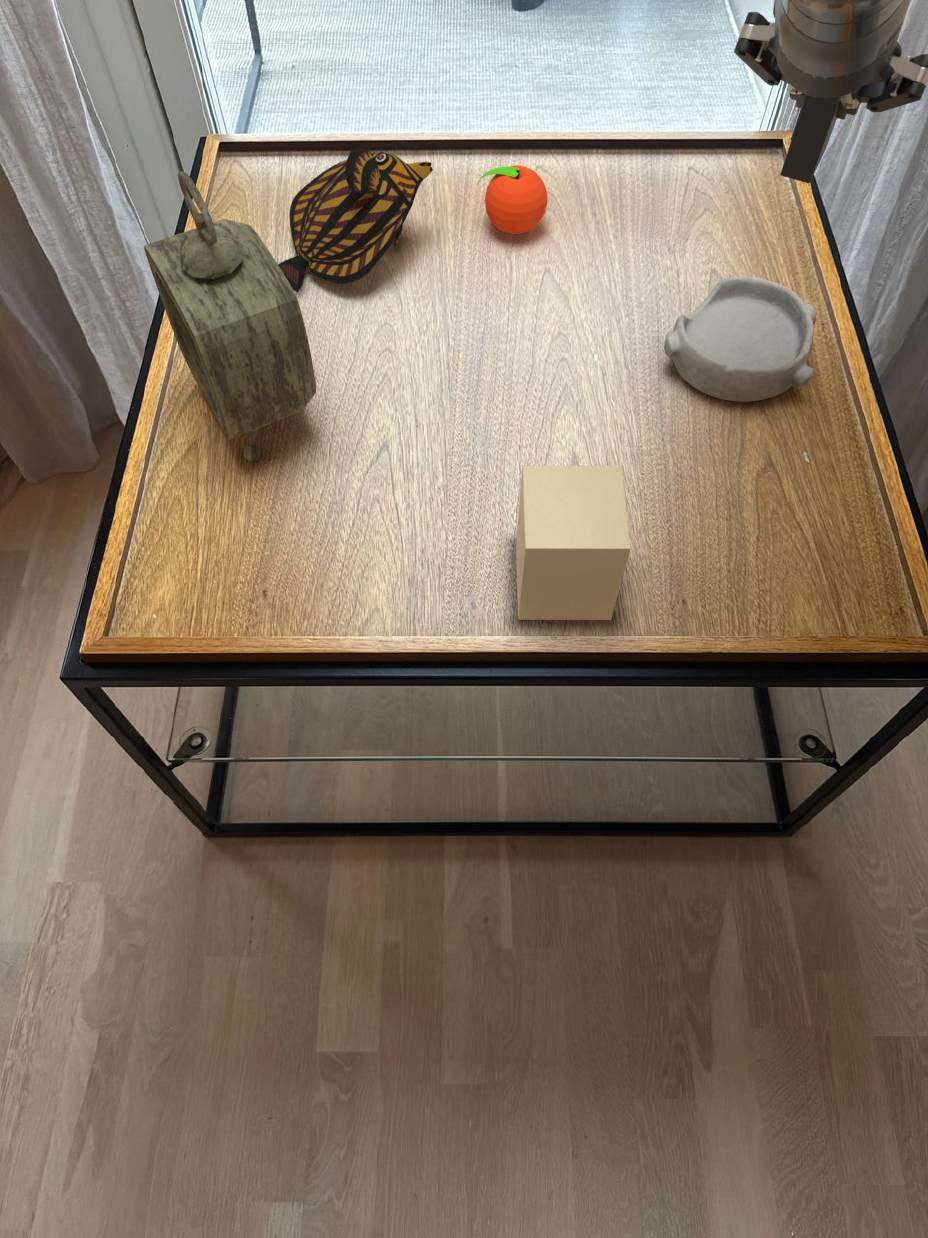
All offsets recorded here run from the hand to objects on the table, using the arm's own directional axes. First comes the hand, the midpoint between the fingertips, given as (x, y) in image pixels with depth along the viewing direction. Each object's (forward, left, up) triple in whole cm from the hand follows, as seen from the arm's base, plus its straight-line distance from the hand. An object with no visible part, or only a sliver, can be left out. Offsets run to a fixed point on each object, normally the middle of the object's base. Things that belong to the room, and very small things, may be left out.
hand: (825, 99), depth 71 cm
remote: (+1, +2, -4) cm, 4 cm away
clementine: (+15, -26, -27) cm, 41 cm away
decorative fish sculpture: (+33, -28, -27) cm, 51 cm away
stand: (+27, +20, -27) cm, 43 cm away
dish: (0, +1, -27) cm, 27 cm away
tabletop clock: (+48, -8, -27) cm, 56 cm away
